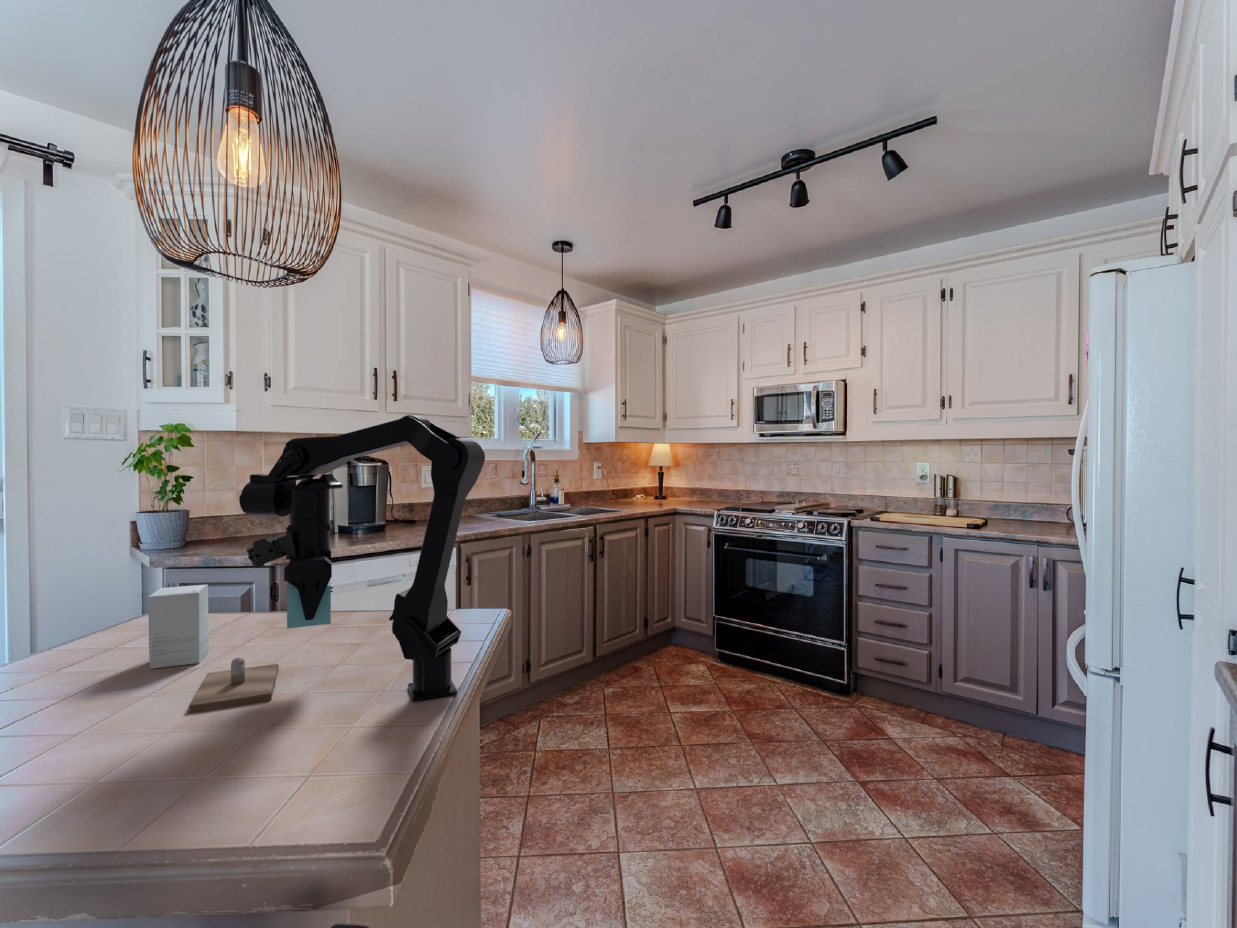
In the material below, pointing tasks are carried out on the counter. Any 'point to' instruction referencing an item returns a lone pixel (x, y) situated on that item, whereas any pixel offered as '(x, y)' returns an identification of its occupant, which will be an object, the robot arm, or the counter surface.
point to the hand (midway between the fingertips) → (309, 614)
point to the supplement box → (178, 626)
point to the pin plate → (235, 686)
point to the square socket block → (296, 611)
